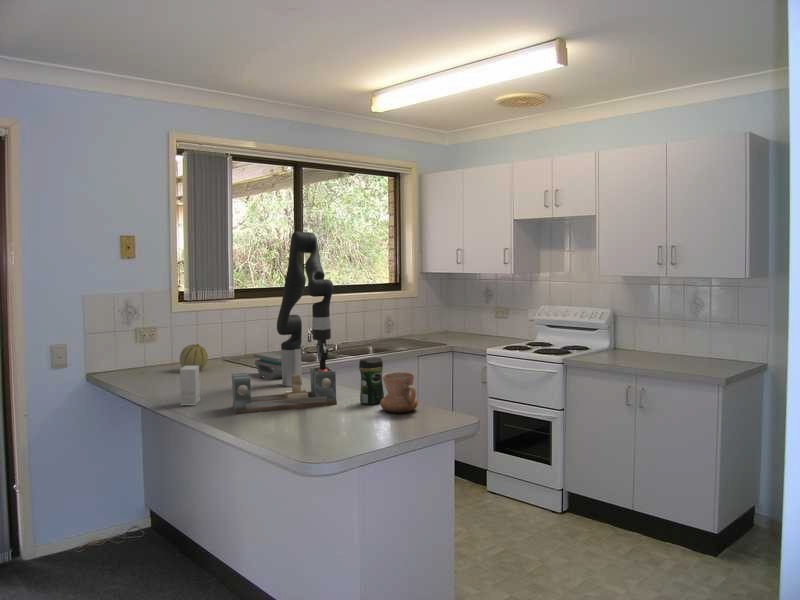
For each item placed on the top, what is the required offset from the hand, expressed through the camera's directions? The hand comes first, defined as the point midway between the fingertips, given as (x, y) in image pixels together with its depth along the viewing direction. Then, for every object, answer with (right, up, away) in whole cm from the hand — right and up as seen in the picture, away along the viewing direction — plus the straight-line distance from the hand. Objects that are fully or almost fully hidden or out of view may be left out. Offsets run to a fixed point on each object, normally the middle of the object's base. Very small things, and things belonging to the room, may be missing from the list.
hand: (322, 369), depth 264 cm
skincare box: (-55, -15, +2) cm, 57 cm away
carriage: (-10, -12, -3) cm, 16 cm away
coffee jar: (+21, -14, -3) cm, 25 cm away
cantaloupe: (-80, -10, +83) cm, 116 cm away
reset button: (0, -4, 0) cm, 4 cm away
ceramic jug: (+32, -14, -18) cm, 39 cm away
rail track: (-15, -14, -4) cm, 21 cm away
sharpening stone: (-33, -11, +62) cm, 71 cm away
